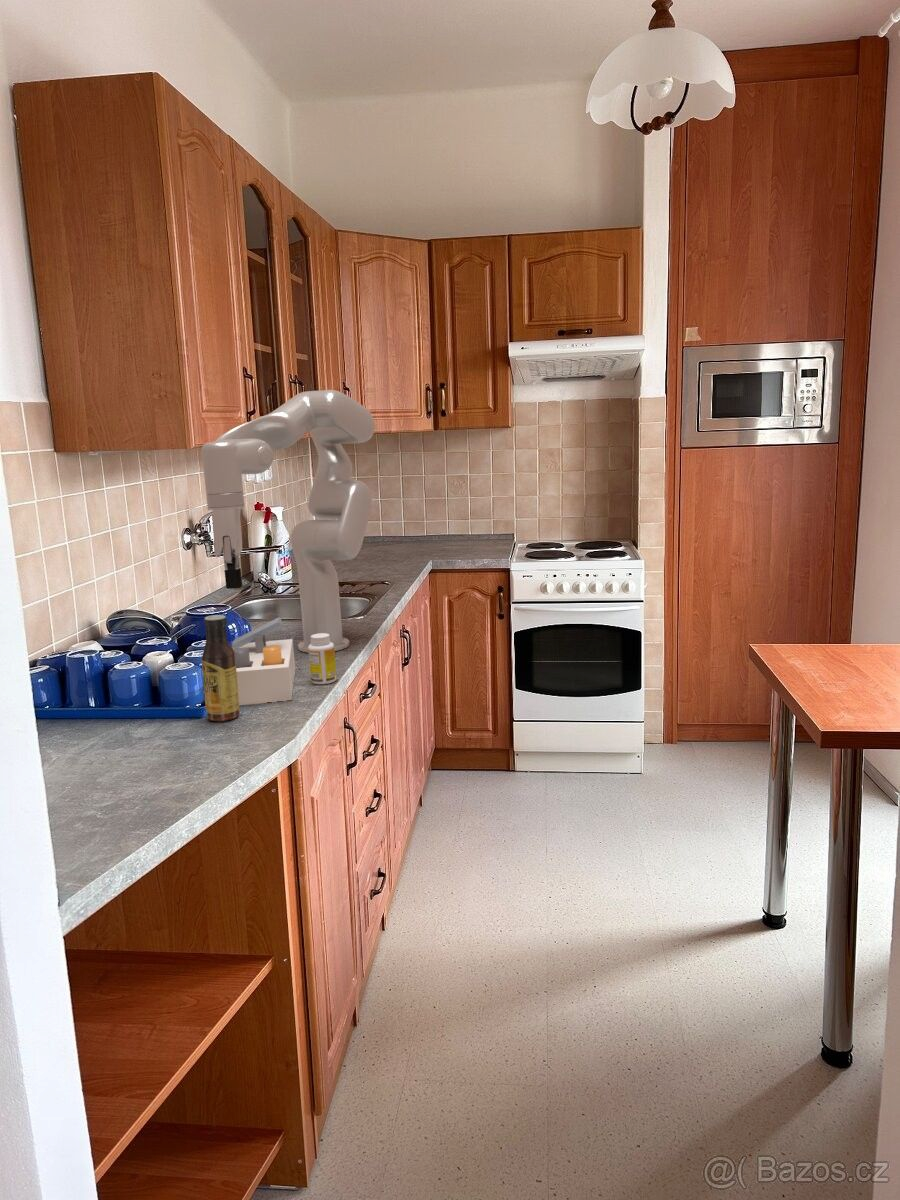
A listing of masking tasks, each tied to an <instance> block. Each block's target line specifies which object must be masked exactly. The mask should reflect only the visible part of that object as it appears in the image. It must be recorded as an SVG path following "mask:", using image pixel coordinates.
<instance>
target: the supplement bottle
mask: <svg viewBox="0 0 900 1200" xmlns="http://www.w3.org/2000/svg"><path fill="white" fill-rule="evenodd" d="M311 643H312V644H310V645H309V646H308V653H307V654H308V663H309V664H308V665H309V673H310V675H309V676H310V681H311V683H312V684H315V685H328V684H332V683H335V682H336V681H337V678H338V676H337V675H338V674H337V663H336V653H335V652H336V651H335V650H334V644H333V643H332V642H330V636H329V634H327V633H319V634H314V635H312V636H311Z"/></svg>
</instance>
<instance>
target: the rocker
mask: <svg viewBox="0 0 900 1200" xmlns="http://www.w3.org/2000/svg"><path fill="white" fill-rule="evenodd" d="M282 624H283V621H282V619H281V616H279V617H277V618H274V619H272V620H270V621H269V622H267V623H265V624H263V625H261V626H258V627H256V628H254V629H253V630H250V631H248V632H247V633H244V634H243V635H241V636H238V637H237V638H234V640H233V642H232V643H231V646H232V647H233V648H234V649H237V648H239V647H241V646H243V645H245V644H247V643H251V642H254V641H255V637H259V636H263V635H265V636H266V635H267V634H270V633H271V632H273V631H275V630H277V629H279V628H281V627H282Z"/></svg>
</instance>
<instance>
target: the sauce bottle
mask: <svg viewBox="0 0 900 1200" xmlns="http://www.w3.org/2000/svg"><path fill="white" fill-rule="evenodd" d="M227 623H228V621H227V616H226V615H223V614H214V615H207V616H205V617H204V618H203V625H204V627H205V636H206V637H205V640H206V641H205V645H204V648H203V653H202V657H201V670H202V682H203V683H202V684H203V693H204V703H205V704H204V705H205V711H206V714H207V718H208V720H209V721H213V722H217V723H220V722H226V721H230V720H234V719H236V718H237V717H239V716H240V711H239V709H240V705H239V697H238V685H237V672H236V664H235V654H234V650H233V648H232V647H233V646H232V644H230V642H229V641H228V635H227Z"/></svg>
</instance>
